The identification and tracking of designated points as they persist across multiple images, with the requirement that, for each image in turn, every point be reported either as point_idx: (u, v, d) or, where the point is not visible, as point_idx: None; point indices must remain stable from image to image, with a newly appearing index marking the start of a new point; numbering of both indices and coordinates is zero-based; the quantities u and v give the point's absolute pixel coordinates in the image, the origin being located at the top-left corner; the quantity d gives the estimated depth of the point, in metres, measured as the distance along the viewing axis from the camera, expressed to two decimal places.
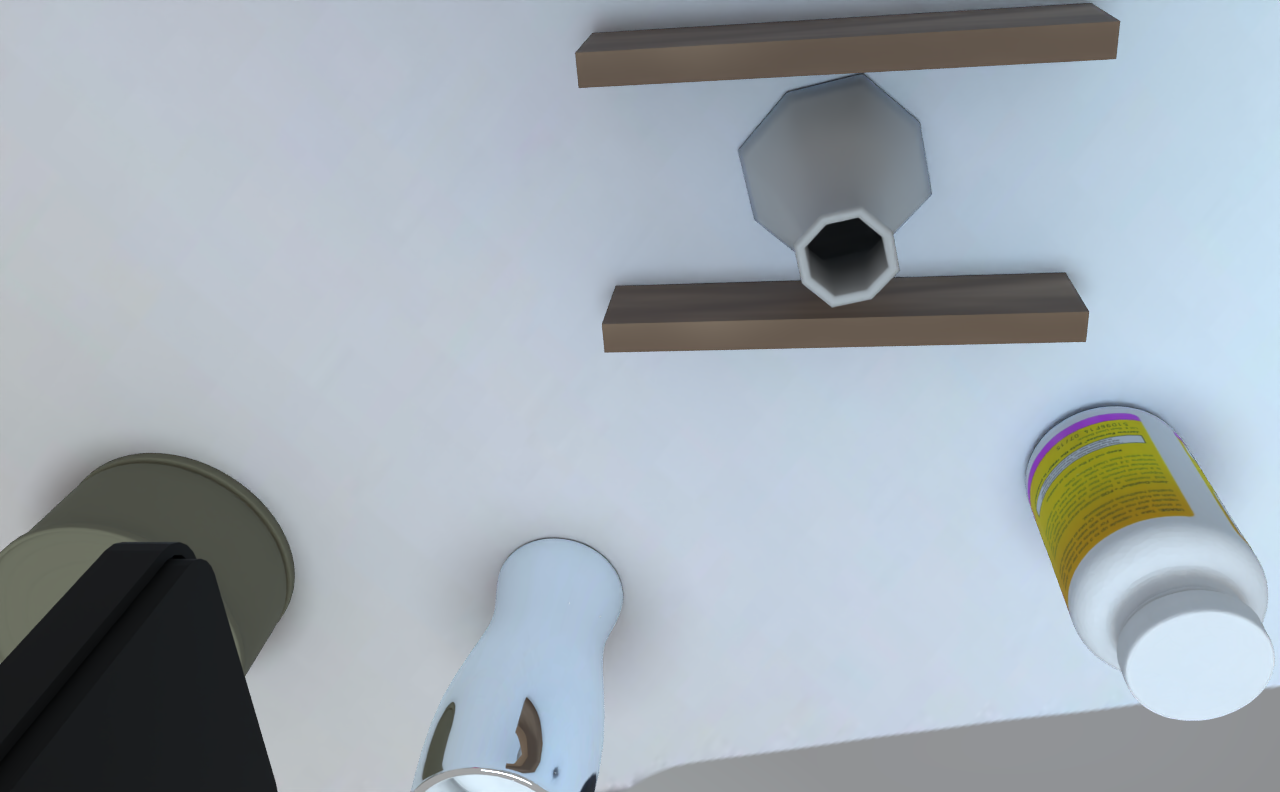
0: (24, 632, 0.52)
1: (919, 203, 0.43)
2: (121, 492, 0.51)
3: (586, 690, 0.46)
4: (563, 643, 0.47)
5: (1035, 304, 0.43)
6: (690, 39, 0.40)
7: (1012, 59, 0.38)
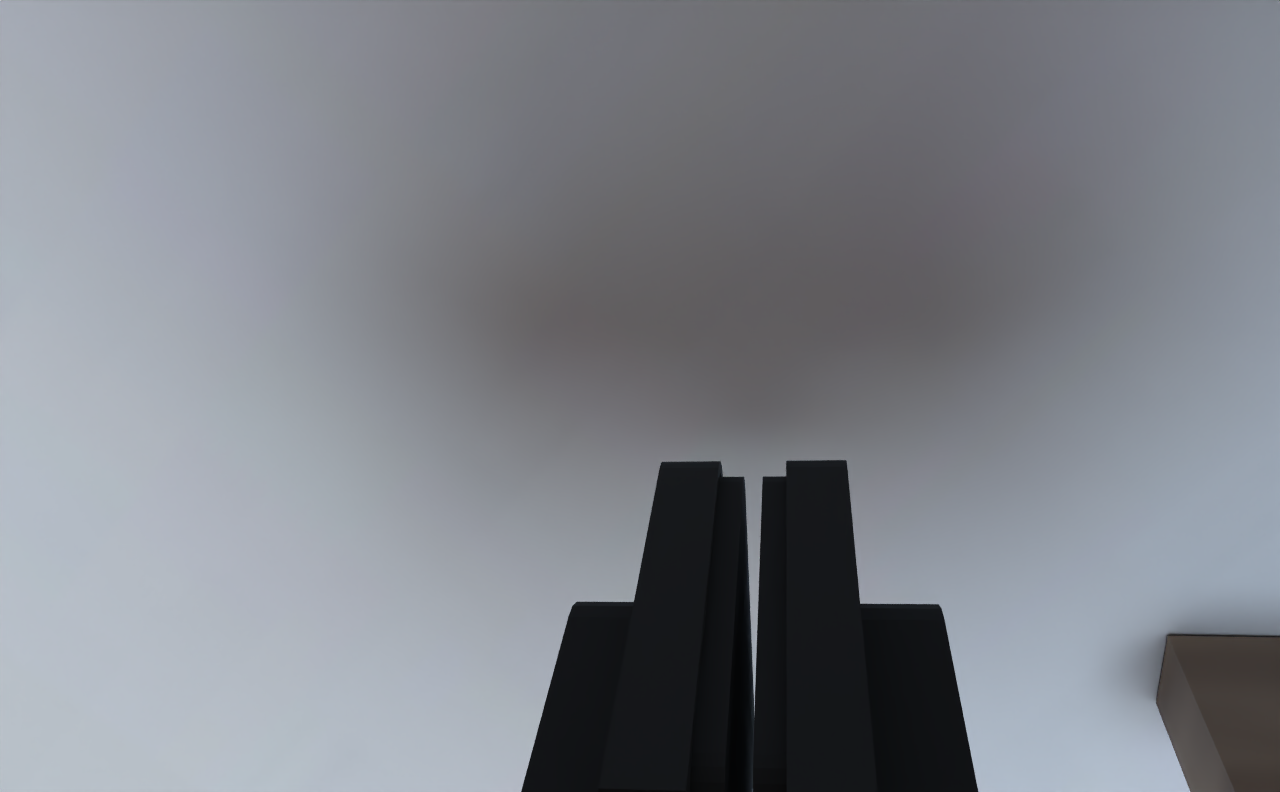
0: None
1: None
2: None
3: None
4: None
5: None
6: None
7: None
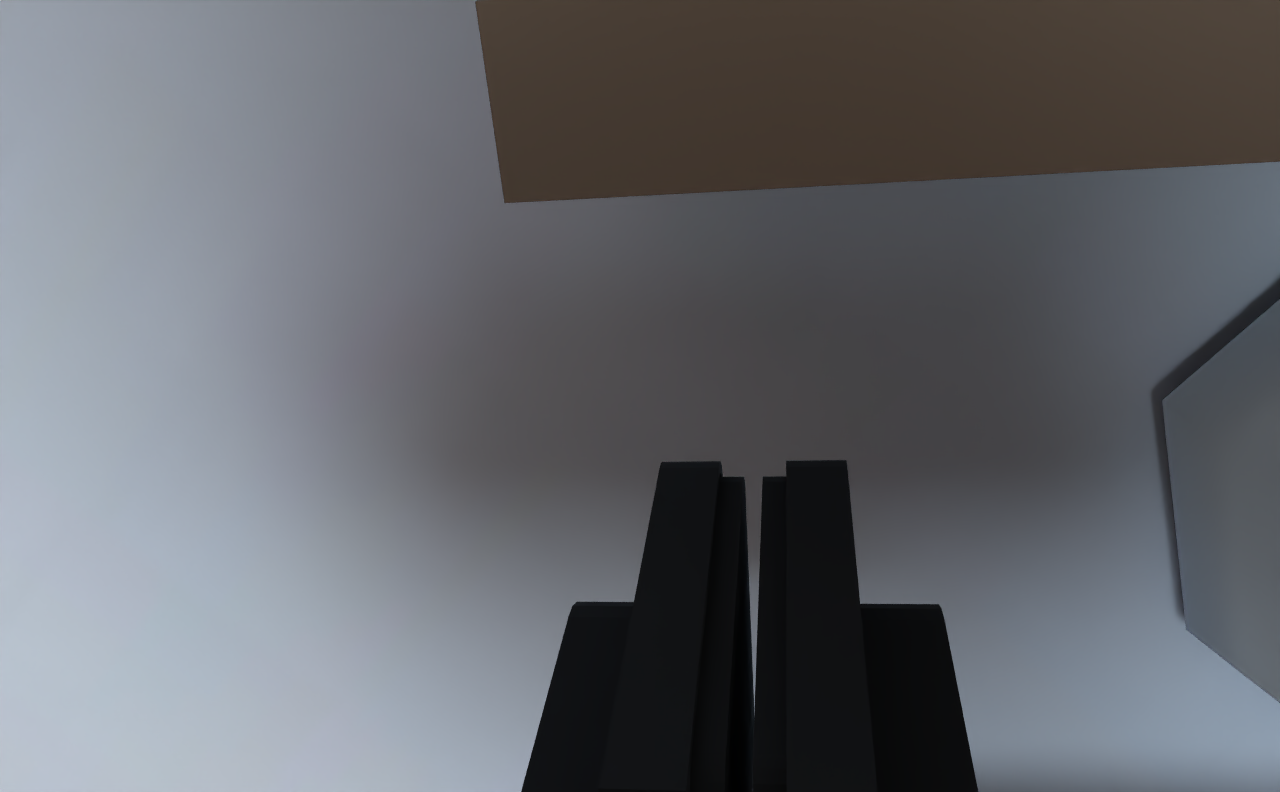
0: None
1: None
2: None
3: None
4: None
5: None
6: None
7: None
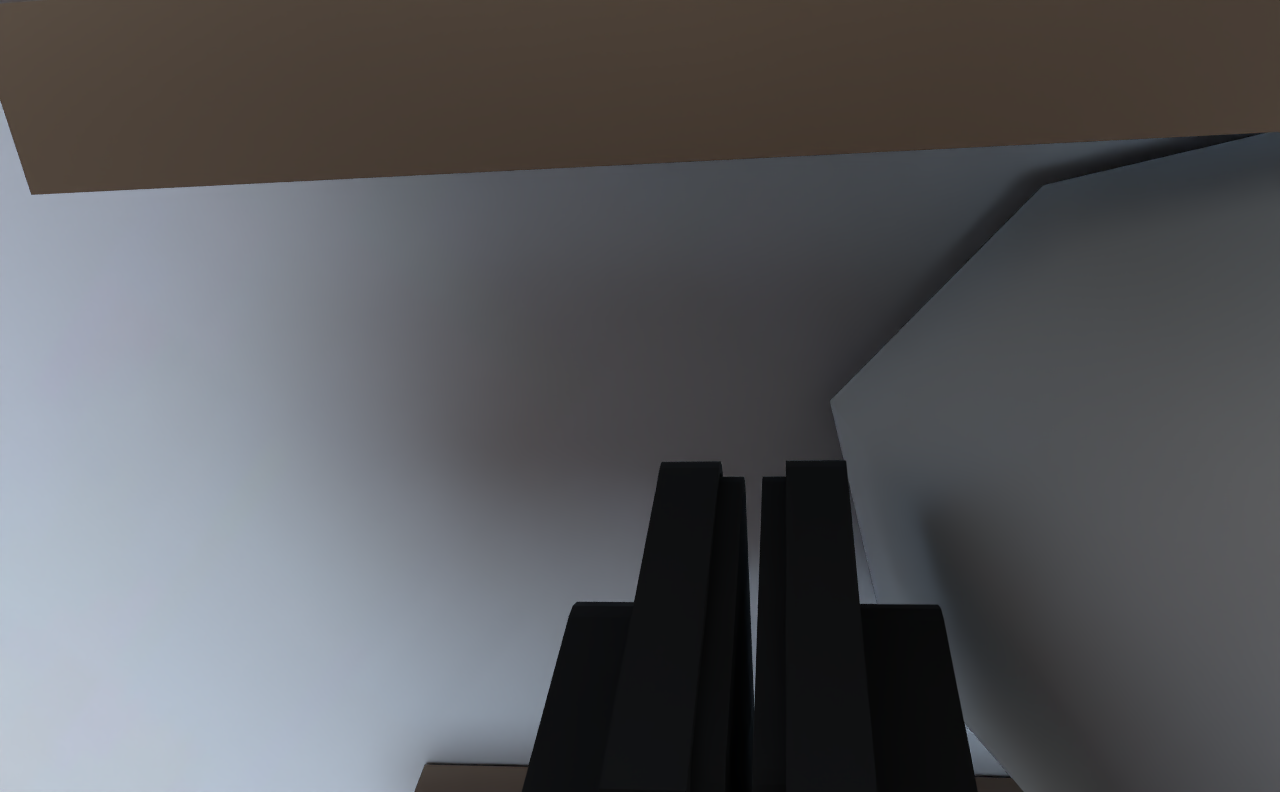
0: None
1: None
2: None
3: None
4: None
5: None
6: None
7: None
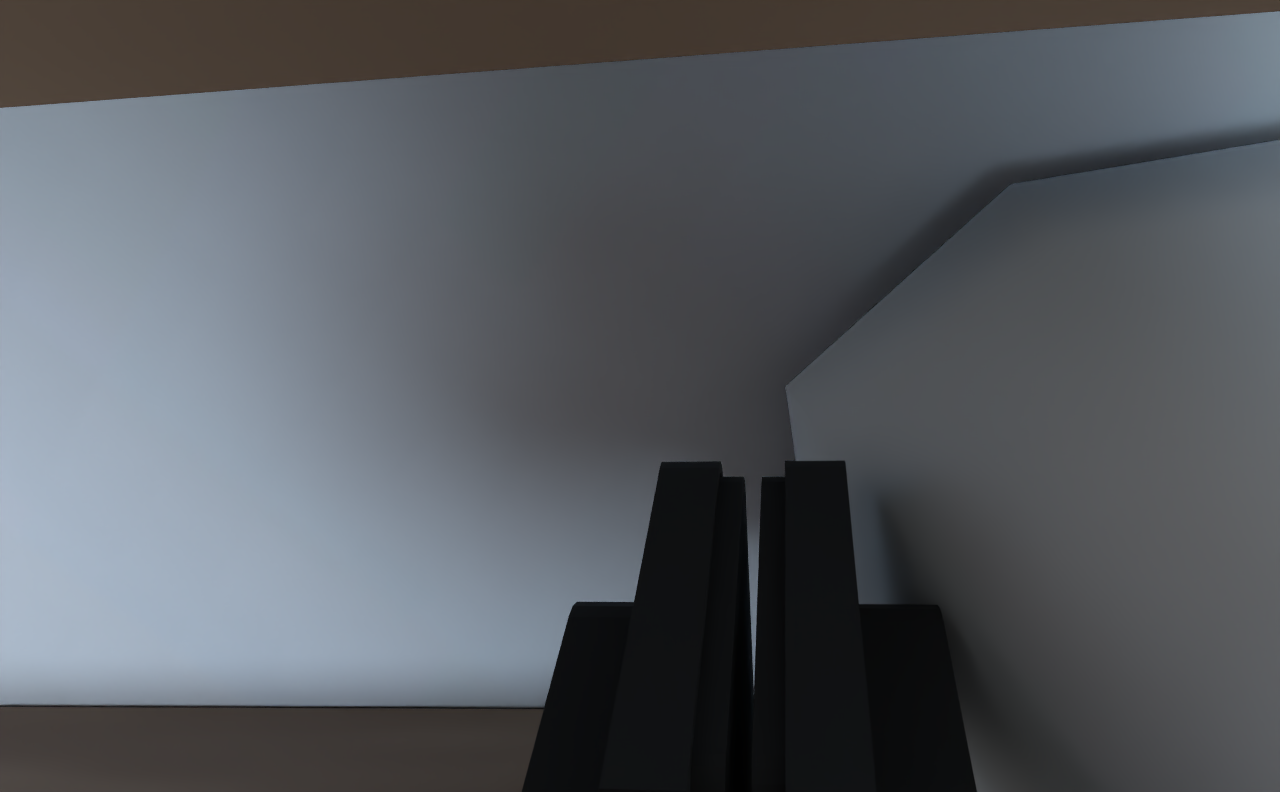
0: None
1: None
2: None
3: None
4: None
5: None
6: None
7: (964, 5, 0.07)
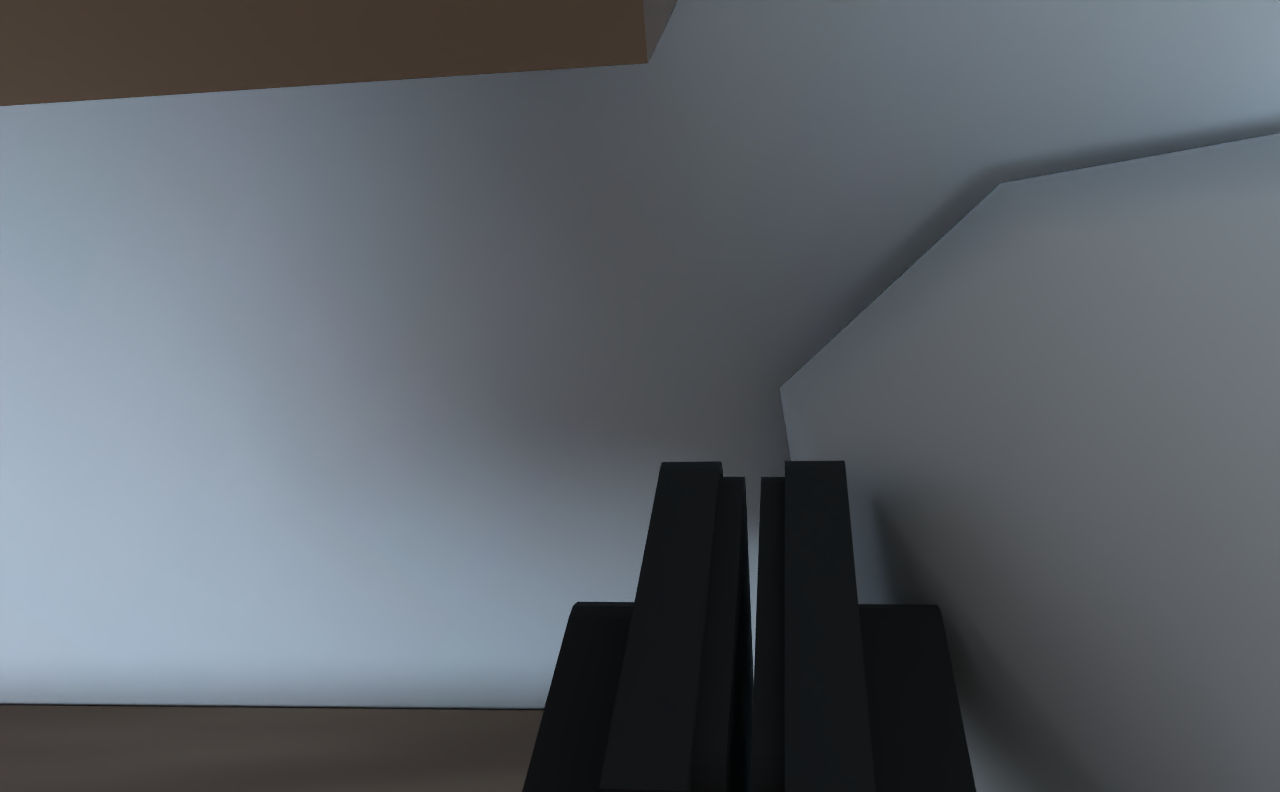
0: None
1: None
2: None
3: None
4: None
5: None
6: None
7: (140, 70, 0.07)
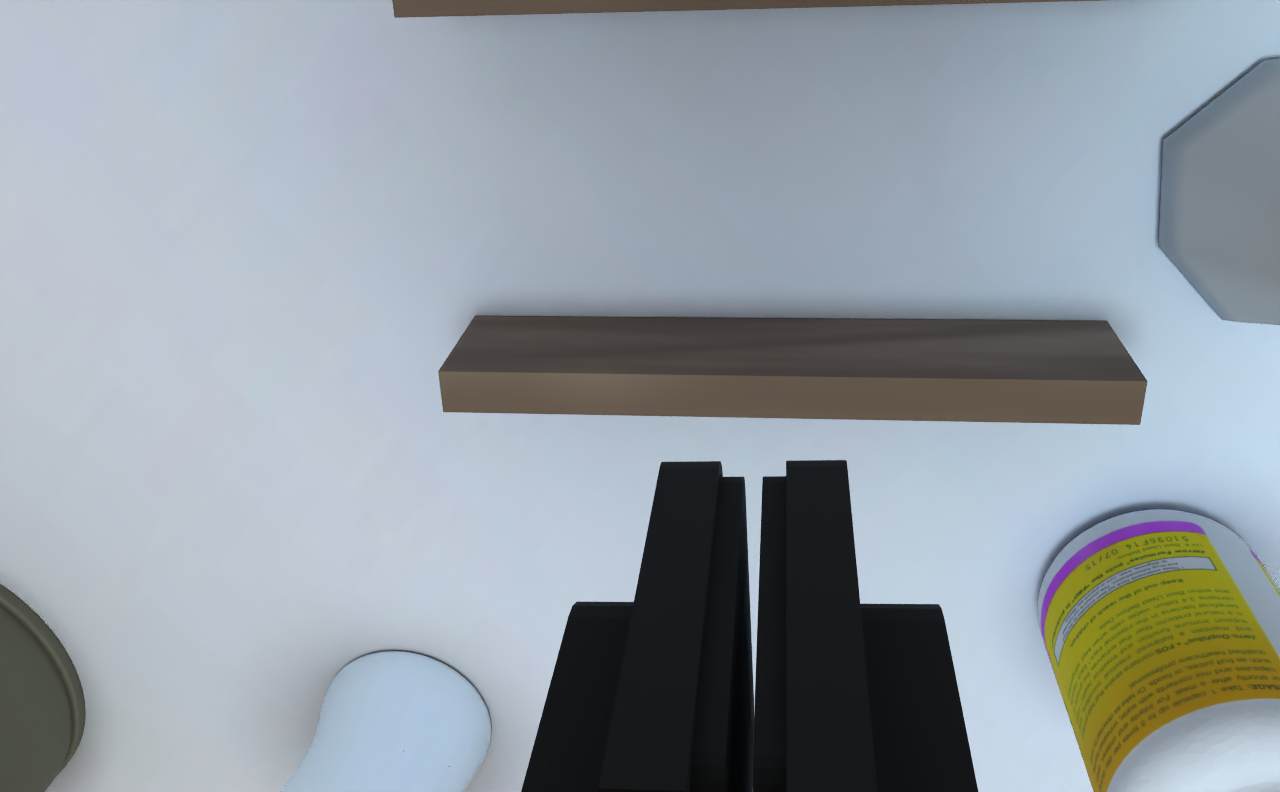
0: None
1: None
2: None
3: None
4: None
5: (1067, 367, 0.29)
6: None
7: None
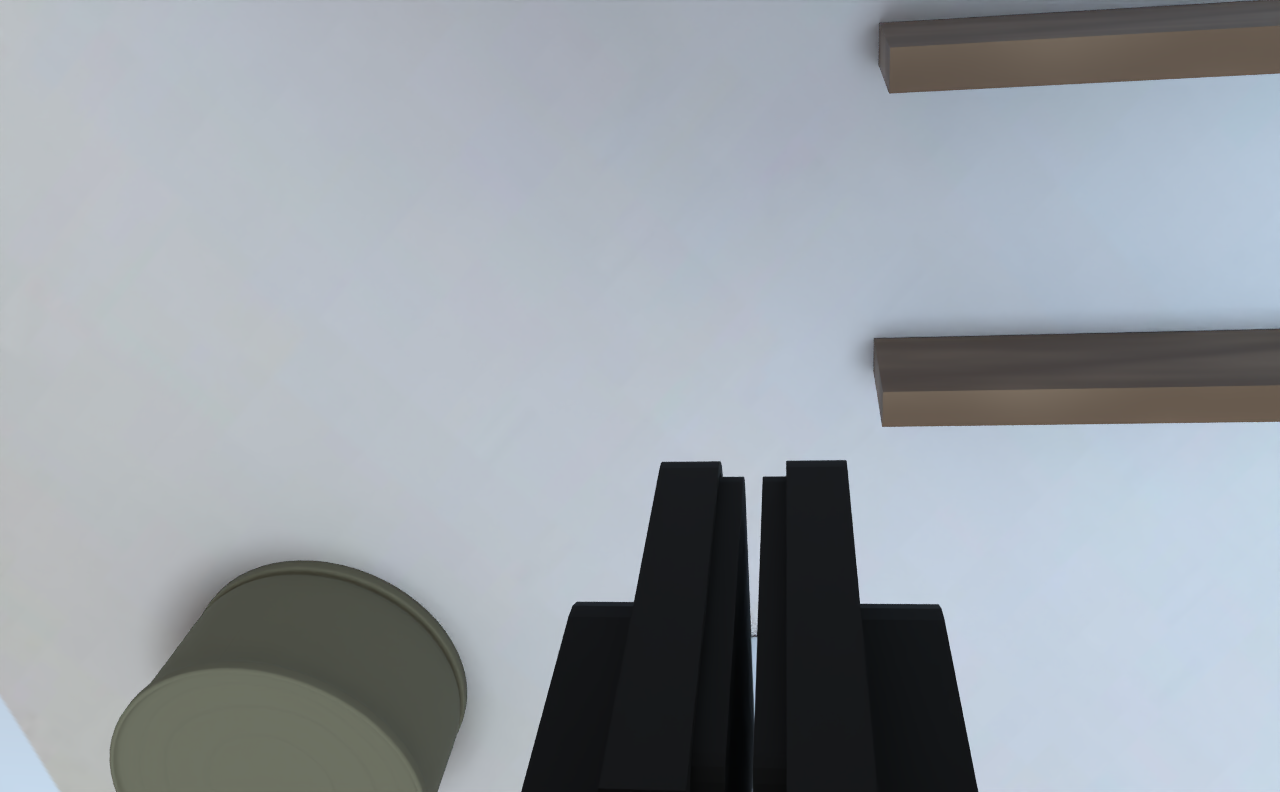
0: (160, 778, 0.43)
1: None
2: (289, 617, 0.42)
3: None
4: None
5: None
6: (1033, 30, 0.31)
7: None
